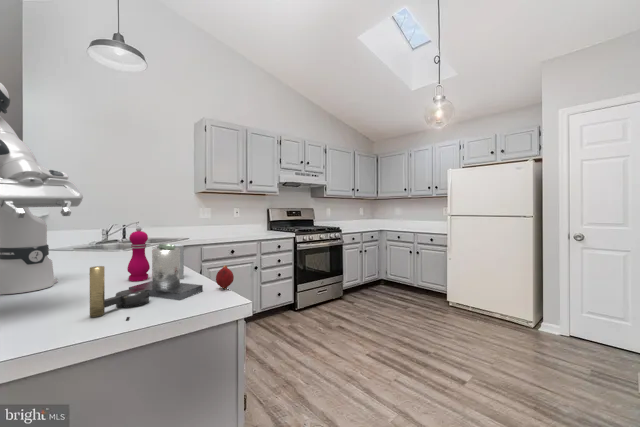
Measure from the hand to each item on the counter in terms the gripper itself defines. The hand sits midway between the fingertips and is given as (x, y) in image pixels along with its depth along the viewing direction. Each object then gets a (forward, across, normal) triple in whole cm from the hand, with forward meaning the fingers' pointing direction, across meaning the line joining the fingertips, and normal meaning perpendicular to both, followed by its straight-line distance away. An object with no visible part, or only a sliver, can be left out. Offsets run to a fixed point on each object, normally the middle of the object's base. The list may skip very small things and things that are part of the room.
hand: (45, 215), depth 76 cm
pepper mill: (+8, +32, +29) cm, 44 cm away
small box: (+14, +39, +23) cm, 47 cm away
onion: (+35, +38, +4) cm, 52 cm away
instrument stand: (+26, +17, +11) cm, 33 cm away
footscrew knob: (+26, +10, +10) cm, 30 cm away
